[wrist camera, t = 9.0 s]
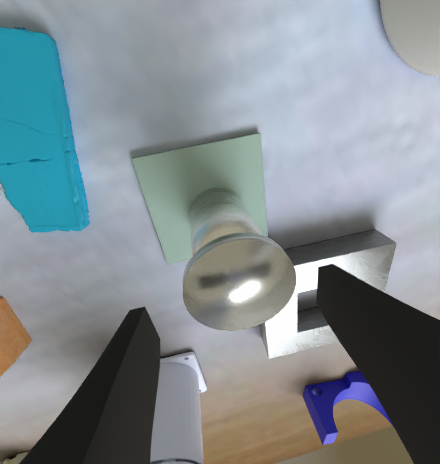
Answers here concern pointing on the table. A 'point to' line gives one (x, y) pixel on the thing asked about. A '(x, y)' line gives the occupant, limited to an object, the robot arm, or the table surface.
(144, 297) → the table surface
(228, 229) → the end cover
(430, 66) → the cylinder vase
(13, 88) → the sponge
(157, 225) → the mat
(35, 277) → the table surface
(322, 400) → the blue bearing cradle
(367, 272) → the socket block
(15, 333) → the arch
